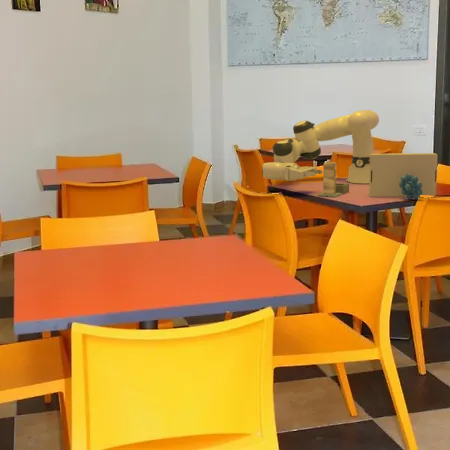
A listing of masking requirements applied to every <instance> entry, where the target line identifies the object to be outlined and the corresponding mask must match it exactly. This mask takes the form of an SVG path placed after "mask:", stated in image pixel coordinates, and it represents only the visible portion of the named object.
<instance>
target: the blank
mask: <svg viewBox="0 0 450 450" xmlns="http://www.w3.org/2000/svg"><path fill="white" fill-rule="evenodd" d="M322 174H323V180H322V181H323V184H322V185H323V189H322V190H323V191H322V193H323V194H330V195H334V194H336V183H337V162H332V161H331V162H329V161H328V162H323V172H322Z"/></svg>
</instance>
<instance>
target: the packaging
mask: <svg viewBox="0 0 450 450" xmlns="http://www.w3.org/2000/svg"><path fill="white" fill-rule="evenodd" d="M438 156H439V155H438V154H437V153H434V152H427V153H426V152H425V153H424V152H423V153H422V152H420V153H419V152H418V153H417V152H415V153H413V152H412V153H411V152H408V153H405V152H404V153H398V152H397V153H373V154H370V169H369V183H368V196H369V197H370V198H407V195H403V194H402V192H401V190H402V188H400V186H399V183H400V182H402V181H401V177H402V176H405V177H406V174H408V173H409V174H411V175H412V177H413V176H414V175H415V176H417V177H418V181H419V182H421V183H422V187H421V188H420V189H422V191H423V193H422V195H434V196H436V197H437V182H438V181H437V178H438ZM418 181H417V182H418ZM419 196H420V195H419Z"/></svg>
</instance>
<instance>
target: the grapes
mask: <svg viewBox="0 0 450 450" xmlns="http://www.w3.org/2000/svg"><path fill="white" fill-rule="evenodd" d="M401 181H402V182H400V183H399V186H400V188H402V190H401V192H402V194H403V195H407V197H406V198H407V199H408V200H409V201H410V200H412V199H414V200H419V198H420V197H419V195H422V193H423V191H422V189H420V188H421V187H422V183H421V182H419V181H418V177H417V176H415V175H414V176H413V177H412V175H411V174H409V173H408V174H406V177H405V176H402V177H401ZM417 181H418V182H417ZM418 197H419V198H418Z"/></svg>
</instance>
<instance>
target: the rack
mask: <svg viewBox="0 0 450 450" xmlns="http://www.w3.org/2000/svg"><path fill="white" fill-rule="evenodd" d="M347 192H348V193H350V183H337V182H336V193H342V195H345V194H347ZM344 193H345V194H344Z"/></svg>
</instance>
